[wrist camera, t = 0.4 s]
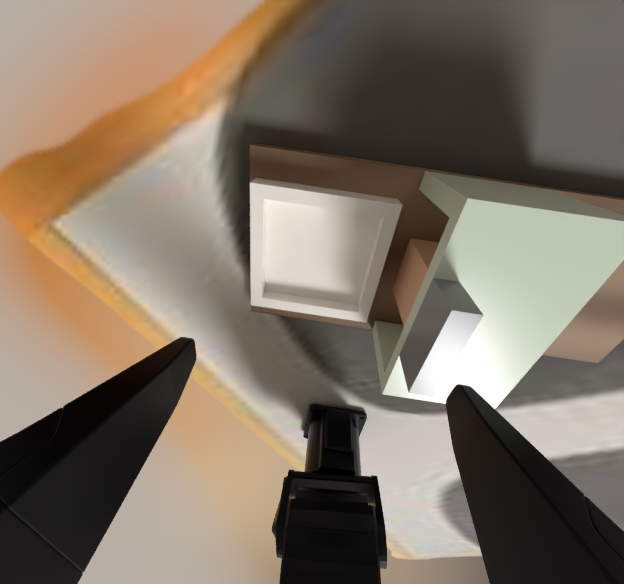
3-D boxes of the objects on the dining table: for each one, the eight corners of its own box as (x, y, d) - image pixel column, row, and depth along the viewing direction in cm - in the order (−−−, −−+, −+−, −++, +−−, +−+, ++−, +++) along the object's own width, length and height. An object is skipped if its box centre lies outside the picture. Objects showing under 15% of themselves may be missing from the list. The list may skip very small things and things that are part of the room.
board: (586, 352, 23) (597, 363, 22) (254, 302, 23) (250, 311, 22) (724, 212, 16) (750, 218, 15) (255, 142, 16) (249, 144, 15)
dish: (364, 311, 21) (366, 322, 20) (255, 294, 21) (250, 305, 20) (397, 198, 16) (402, 205, 15) (256, 177, 16) (249, 182, 15)
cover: (457, 342, 22) (514, 451, 15) (372, 330, 22) (387, 432, 15) (548, 189, 15) (731, 253, 8) (425, 171, 15) (499, 218, 8)
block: (446, 297, 19) (475, 346, 15) (392, 289, 20) (406, 336, 15) (471, 247, 17) (513, 288, 13) (410, 238, 17) (432, 276, 13)
